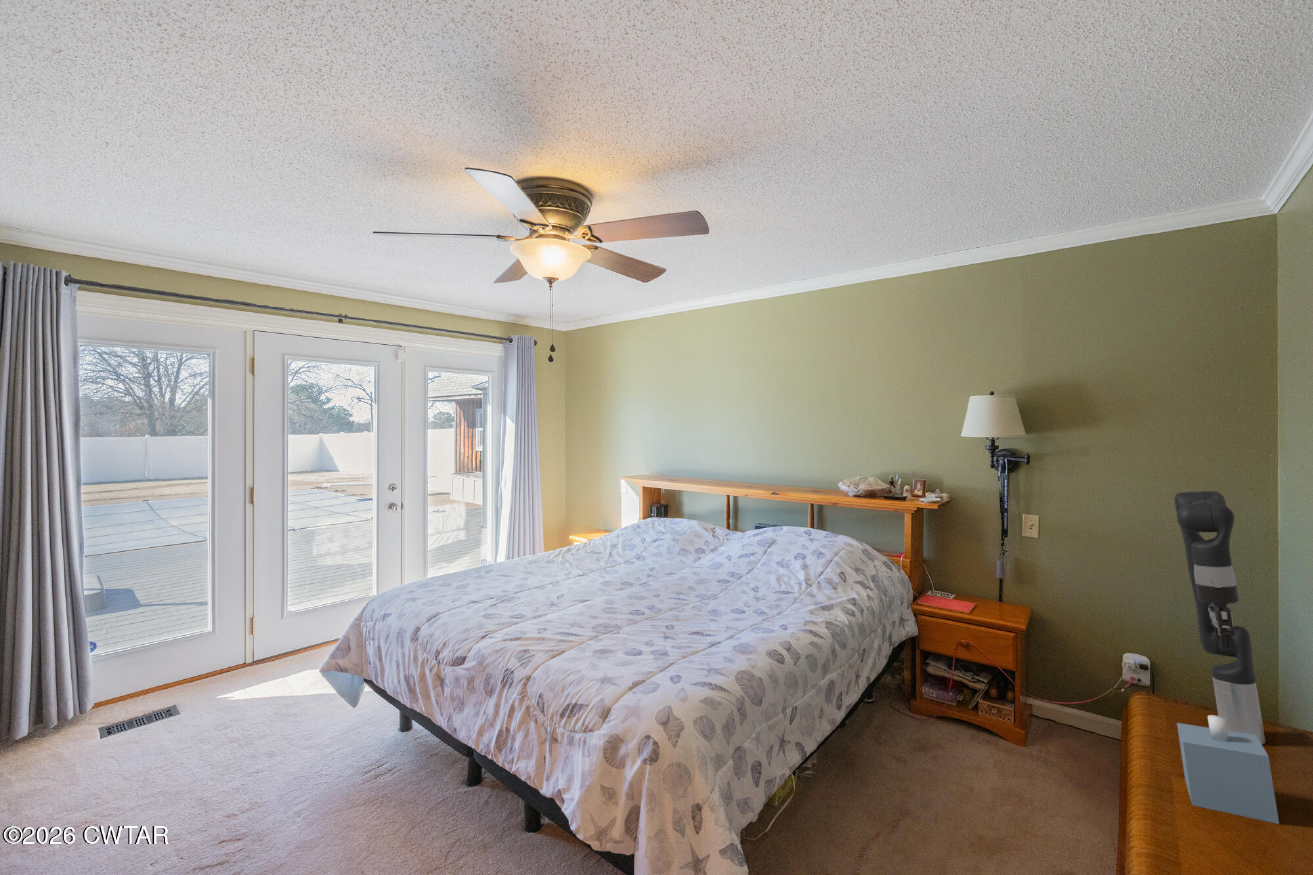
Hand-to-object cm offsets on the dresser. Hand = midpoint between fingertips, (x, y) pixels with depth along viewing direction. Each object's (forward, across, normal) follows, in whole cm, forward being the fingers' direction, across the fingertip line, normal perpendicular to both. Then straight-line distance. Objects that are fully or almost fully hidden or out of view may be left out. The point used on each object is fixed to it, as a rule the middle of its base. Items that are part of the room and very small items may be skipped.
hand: (1225, 645), depth 142 cm
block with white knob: (+36, +7, -4) cm, 37 cm away
